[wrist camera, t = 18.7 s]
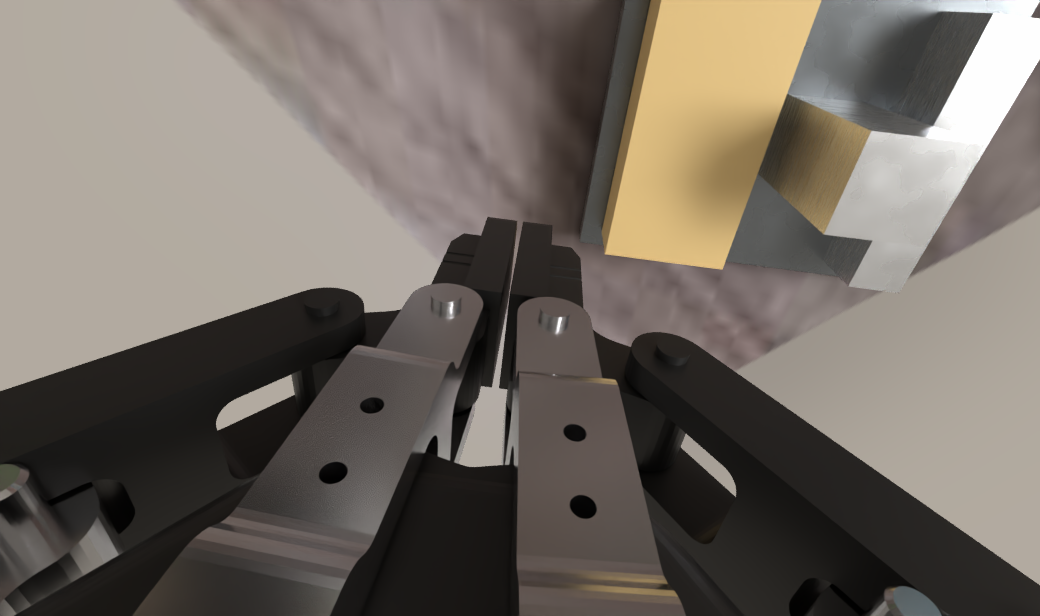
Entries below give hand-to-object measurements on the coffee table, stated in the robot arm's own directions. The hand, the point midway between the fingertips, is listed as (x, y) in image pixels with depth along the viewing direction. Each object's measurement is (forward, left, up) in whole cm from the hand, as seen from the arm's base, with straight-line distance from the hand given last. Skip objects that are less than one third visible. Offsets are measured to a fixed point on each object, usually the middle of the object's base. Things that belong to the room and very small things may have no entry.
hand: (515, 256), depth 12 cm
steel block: (+15, 0, -20) cm, 25 cm away
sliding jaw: (+8, 0, -19) cm, 21 cm away
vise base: (+13, 0, -21) cm, 25 cm away
